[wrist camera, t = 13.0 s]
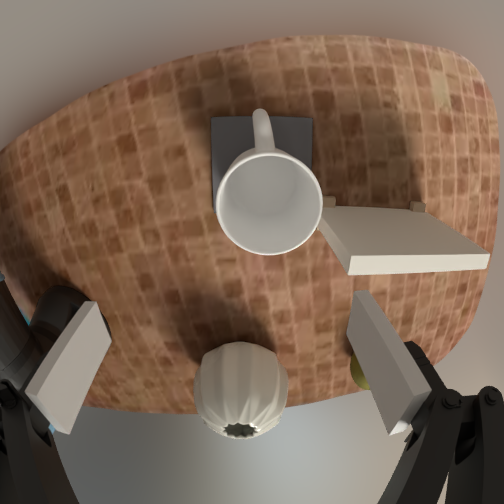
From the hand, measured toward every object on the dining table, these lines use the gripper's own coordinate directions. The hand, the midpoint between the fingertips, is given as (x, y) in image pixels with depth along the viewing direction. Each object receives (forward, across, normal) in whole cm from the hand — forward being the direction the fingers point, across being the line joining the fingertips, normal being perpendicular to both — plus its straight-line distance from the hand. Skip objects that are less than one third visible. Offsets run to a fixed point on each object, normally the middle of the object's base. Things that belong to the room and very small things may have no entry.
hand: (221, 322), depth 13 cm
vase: (+21, -1, -25) cm, 33 cm away
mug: (+20, +4, +5) cm, 21 cm away
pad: (+21, +4, +5) cm, 22 cm away
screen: (+20, +17, -1) cm, 27 cm away
